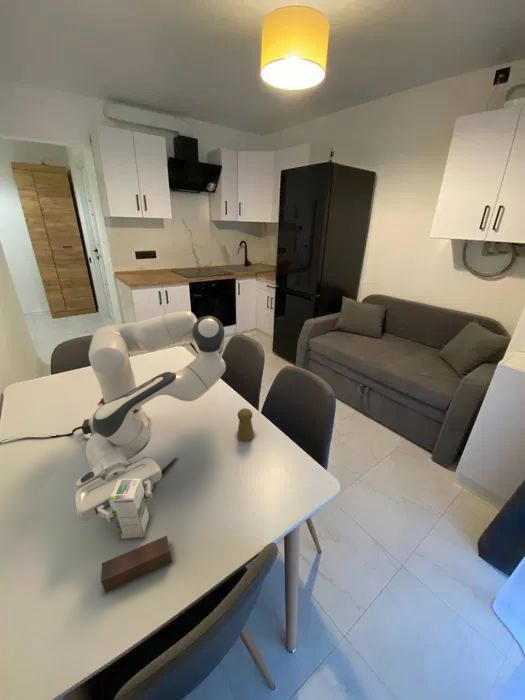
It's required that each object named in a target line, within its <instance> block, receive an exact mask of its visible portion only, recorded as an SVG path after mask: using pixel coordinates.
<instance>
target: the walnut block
mask: <svg viewBox="0 0 525 700" xmlns="http://www.w3.org/2000/svg"><path fill="white" fill-rule="evenodd" d="M172 558H173V557H172V554H171V548H170V543H169V539H168V535H164V536H162V537H160V538H157V539H155V540H153V541H151V542H148V543H146V544H143V545H141V546H139V547H137V548H134V549H131V550H129V551H127V552H125V553H122V554H120V555H117V556H115V557H112V558H111V559H108V560H106V561H103V562H101V563H100V565H101V567H100V568H101V569H100V583H101V585H102V588H103V590H104V592H105V593H107V592H109V591H112V590H114V589H115V588H118V587H120V586H123V585H124V584H127V583H129V582H131V581H133V580H135V579H138V578H140V577H142V576H144V575H146V574H148V573H151V572H153V571H155V570H157V569H160V568H161V567H164V566H166V565H168V564H170V563H172V562H173V559H172Z"/></svg>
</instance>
